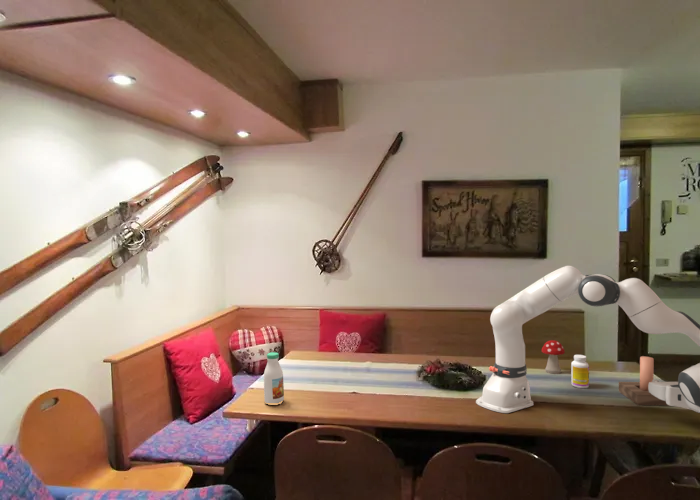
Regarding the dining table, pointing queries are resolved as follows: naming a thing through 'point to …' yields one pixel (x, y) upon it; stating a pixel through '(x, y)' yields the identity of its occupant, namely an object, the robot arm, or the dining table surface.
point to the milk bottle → (273, 380)
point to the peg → (646, 372)
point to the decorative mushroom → (553, 356)
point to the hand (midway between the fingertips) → (667, 381)
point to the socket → (639, 394)
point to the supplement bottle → (580, 372)
